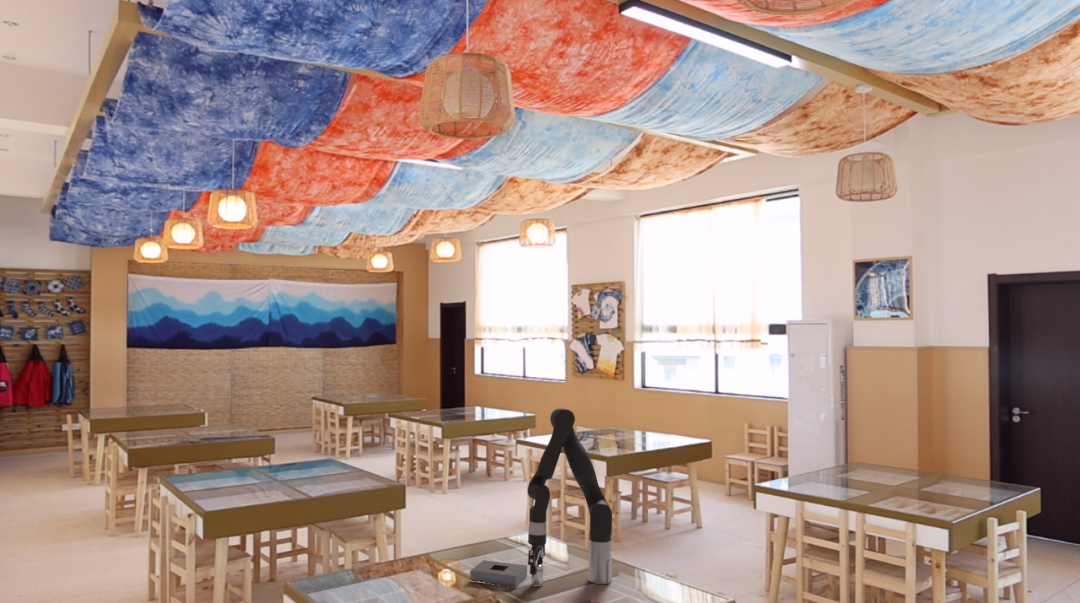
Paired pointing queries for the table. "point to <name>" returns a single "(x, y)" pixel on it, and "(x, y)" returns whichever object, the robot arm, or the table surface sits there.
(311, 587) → the table surface
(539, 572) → the piston
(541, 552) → the robot arm
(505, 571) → the grey block with hole
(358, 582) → the table surface
